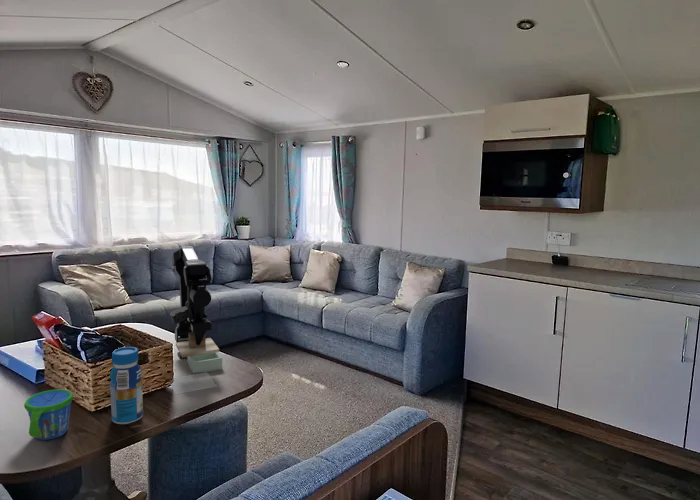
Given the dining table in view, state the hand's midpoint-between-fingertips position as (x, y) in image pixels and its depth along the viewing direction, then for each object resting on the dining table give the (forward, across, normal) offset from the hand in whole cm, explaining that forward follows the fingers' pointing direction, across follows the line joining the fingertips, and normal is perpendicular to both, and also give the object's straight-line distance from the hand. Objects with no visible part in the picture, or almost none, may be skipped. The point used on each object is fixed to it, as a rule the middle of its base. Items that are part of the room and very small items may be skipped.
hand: (197, 343), depth 163 cm
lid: (+2, 0, 0) cm, 2 cm away
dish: (+12, -6, +4) cm, 14 cm away
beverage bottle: (+12, +21, -24) cm, 34 cm away
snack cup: (+12, +22, -42) cm, 49 cm away
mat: (+12, +6, -3) cm, 13 cm away
